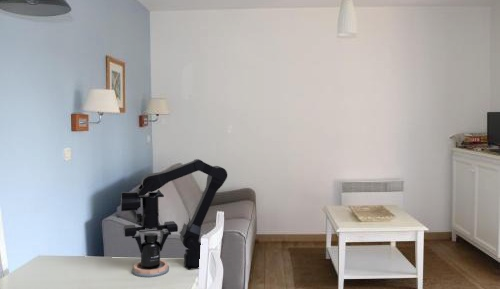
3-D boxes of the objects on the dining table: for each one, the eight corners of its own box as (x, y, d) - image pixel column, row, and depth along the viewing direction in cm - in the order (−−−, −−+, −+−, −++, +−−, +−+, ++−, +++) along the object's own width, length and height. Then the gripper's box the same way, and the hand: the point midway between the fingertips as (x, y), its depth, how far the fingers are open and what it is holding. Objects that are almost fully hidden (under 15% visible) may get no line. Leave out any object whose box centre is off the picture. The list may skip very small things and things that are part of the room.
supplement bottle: (155, 270, 153) (155, 237, 152) (137, 269, 154) (137, 236, 153) (163, 264, 159) (163, 232, 159) (146, 263, 161) (146, 231, 160)
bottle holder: (165, 263, 165) (165, 257, 165) (172, 274, 153) (172, 268, 153) (130, 267, 160) (130, 261, 160) (135, 279, 148) (134, 273, 148)
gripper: (171, 203, 167) (171, 243, 167) (121, 207, 159) (122, 248, 160) (177, 209, 156) (178, 251, 157) (124, 213, 149) (125, 257, 150)
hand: (151, 252), depth 156 cm, fingers closed on supplement bottle, 6 cm apart
